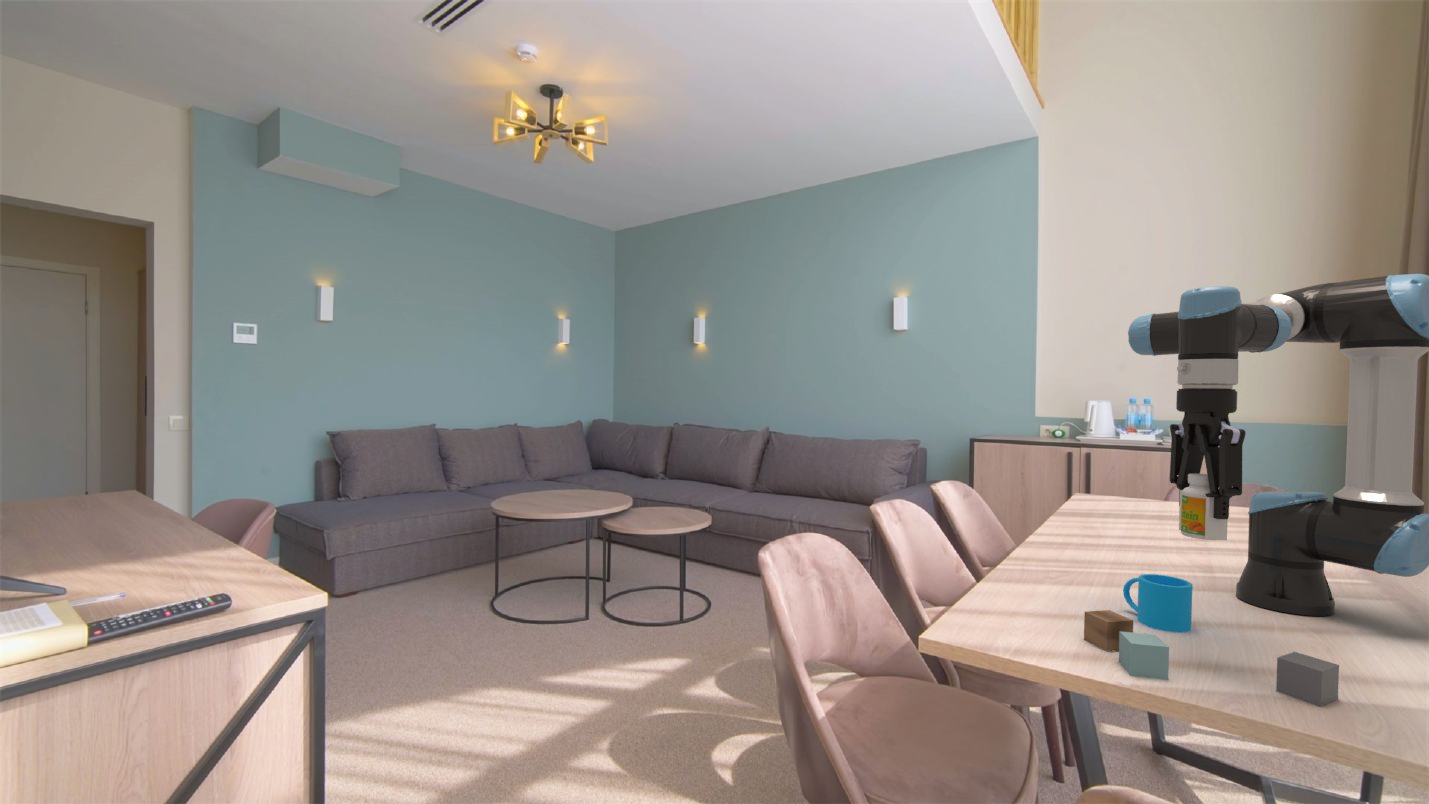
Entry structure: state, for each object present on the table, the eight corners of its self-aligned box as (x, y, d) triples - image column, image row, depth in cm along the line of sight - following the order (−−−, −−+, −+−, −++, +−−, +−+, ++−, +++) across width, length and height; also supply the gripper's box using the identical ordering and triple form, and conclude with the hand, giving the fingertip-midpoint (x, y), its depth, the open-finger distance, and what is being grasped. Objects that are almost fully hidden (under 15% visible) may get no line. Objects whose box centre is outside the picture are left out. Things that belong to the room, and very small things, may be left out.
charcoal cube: (1293, 684, 95) (1294, 651, 94) (1337, 699, 90) (1339, 664, 90) (1276, 691, 92) (1277, 657, 92) (1320, 707, 88) (1322, 671, 88)
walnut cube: (1108, 638, 112) (1109, 609, 111) (1132, 649, 107) (1133, 620, 107) (1083, 640, 111) (1084, 611, 111) (1106, 651, 106) (1107, 621, 106)
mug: (1201, 629, 116) (1203, 584, 116) (1171, 634, 113) (1172, 589, 113) (1137, 607, 128) (1139, 567, 127) (1108, 612, 125) (1109, 570, 124)
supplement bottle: (1172, 532, 103) (1173, 472, 103) (1203, 532, 103) (1205, 472, 103) (1200, 540, 98) (1202, 477, 97) (1232, 540, 98) (1234, 477, 98)
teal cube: (1154, 666, 100) (1155, 634, 100) (1168, 680, 96) (1169, 647, 96) (1118, 662, 102) (1119, 631, 102) (1130, 676, 97) (1131, 643, 97)
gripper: (1146, 387, 109) (1142, 521, 110) (1223, 387, 91) (1218, 548, 92) (1192, 387, 109) (1188, 522, 109) (1279, 387, 90) (1274, 550, 91)
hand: (1202, 534), depth 100 cm, fingers closed on supplement bottle, 5 cm apart
